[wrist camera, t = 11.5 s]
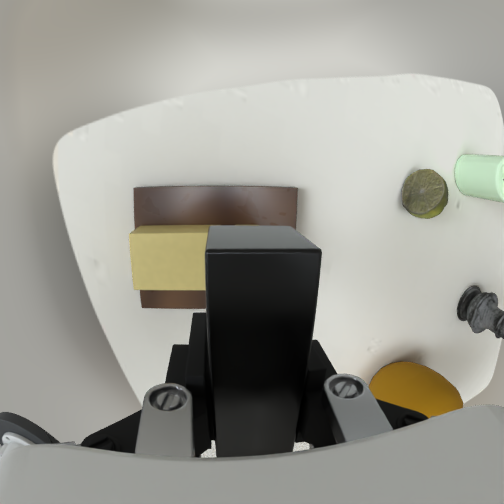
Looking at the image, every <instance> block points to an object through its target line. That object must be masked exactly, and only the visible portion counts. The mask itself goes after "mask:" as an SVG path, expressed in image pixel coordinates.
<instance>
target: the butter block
mask: <svg viewBox="0 0 504 504" xmlns="http://www.w3.org/2000/svg"><path fill="white" fill-rule="evenodd" d="M209 226H212V225H151V226H139V227H138V228H136V229H135V230H134V231H132V232H131V233H130V234H129V243H130V256H131V267H132V278H133V287H134V290H206V289H205V247H206V241H207V235H208V229H209Z"/></svg>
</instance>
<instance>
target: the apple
mask: <svg viewBox="0 0 504 504" xmlns="http://www.w3.org/2000/svg"><path fill="white" fill-rule="evenodd" d="M369 389H370V391H371V392H372V394H373V396H374V398H376V399H379V400H382V401H385V402H388V403H391V404H395V405H398V406H401V407H404V408H408V409H411V410H415V411H418V412H420V413H423V414H424V415H425V416H427V417H428V418H429V419H430V417H431V416H439V415H442V414H445V413H447V412H450V411H454V410H457V409H461V408H463V401H462V399H461V396H460V394H459V392H458V390H457V389H456V388H455V387H454V386H453V385H452V384H451V383H450V382H449V381H448V380H446V379H445V378H444V377H443V376H442V375H440V374H439V373H437V372H435V371H434V370H432V369H430V368H428V367H426V366H423V365H420V364H417V363H413V362H403V361H402V362H396V363H391V364H389V365H387V366H385V367H383V368H381V369H380V370H379V371H378V373H377V374H376V375H375V376H374V377H373V379H372V381H371V383H370V385H369Z"/></svg>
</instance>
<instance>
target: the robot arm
mask: <svg viewBox="0 0 504 504" xmlns="http://www.w3.org/2000/svg"><path fill="white" fill-rule="evenodd" d="M211 440H215V435H214V424H213V413H212V400H211V387H210V372H209V356H208V338H207V316H206V313H193V318H192V325H191V332H190V339H189V345H178V344H174V345H173V347H172V352H171V357H170V361H169V366H168V371H167V376H166V381H165V383H164V384H159V385H156V386H154V387H152V388H150V389H149V390H148V391H147V392H146V394H145V397H144V401H143V407H142V410H140V411H138V412H136V413H134V414H132V415H130V416H128V417H126V418H124V419H122V420H120V421H118V422H116V423H114V424H112V425H110V426H108V427H106V428H104V429H101V430H99V431H97V432H95V433H93V434H91V435H89V436H88V437H86V438H85V439H84V441H83V442H82V443H81V444H78V445H76V444H75V442H65V443H56V444H35V443H33V442H32V441H30V440H28V439H27V438H25V437H23V436H21V435H19V434H16V433H12V432H6V433H5V434H4V435H3V437H2V441H3V444H4V445H3V446H0V504H504V407H502V406H499V405H475V406H470V407H464V408H461V409H457V410H454V411H450V412H447V413H445V414H442V415H439V416H431V417H430V419H429V418H428V417H427V416H425V415H424V414H423V413H420V412H418V411H415V410H411V409H408V408H404V407H401V406H398V405H395V404H391V403H388V402H385V401H382V400H379V399H376V398H374V396H373V394H372V392H371V391H370V389H369V387H368V386H367V384H366V383H365V382H364V381H363V380H362V379H361V378H359V377H357V376H354V375H350V374H337V373H336V371H335V369H334V367H333V366H332V364H331V362H330V361H329V359H328V357H327V355H326V354H325V352H324V350H323V348H322V347H321V345H320V343H319V342H318V341H317V340H312V344H311V351H310V358H309V365H308V371H307V377H306V383H305V389H304V395H303V401H302V406H301V412H300V417H299V422H298V427H297V432H296V437H295V442H296V443H298V442H307V443H309V444H310V445H309V447H310V449H309V450H302V451H295V452H288V453H279V454H270V455H258V456H244V457H218V458H201V454H202V453H203V452H205V451H206V450H207V449H211Z"/></svg>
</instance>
